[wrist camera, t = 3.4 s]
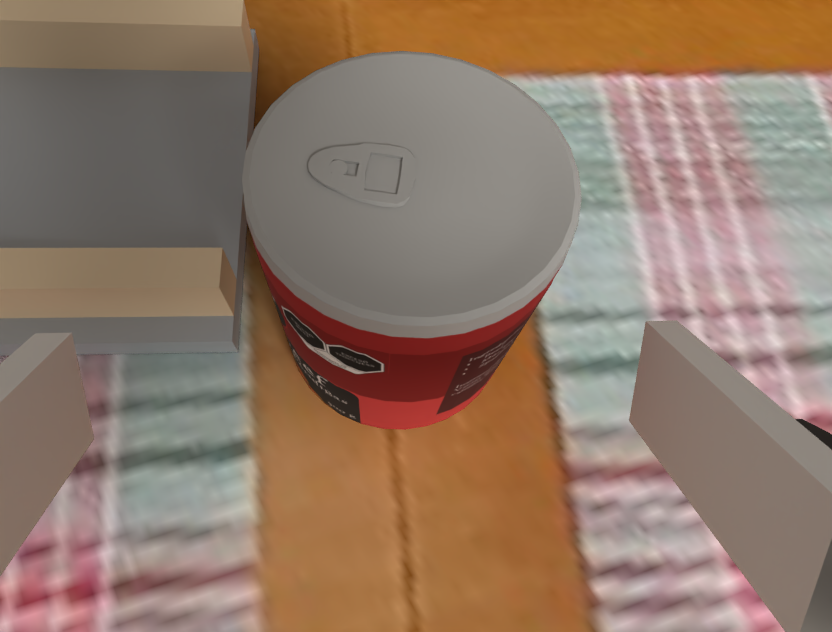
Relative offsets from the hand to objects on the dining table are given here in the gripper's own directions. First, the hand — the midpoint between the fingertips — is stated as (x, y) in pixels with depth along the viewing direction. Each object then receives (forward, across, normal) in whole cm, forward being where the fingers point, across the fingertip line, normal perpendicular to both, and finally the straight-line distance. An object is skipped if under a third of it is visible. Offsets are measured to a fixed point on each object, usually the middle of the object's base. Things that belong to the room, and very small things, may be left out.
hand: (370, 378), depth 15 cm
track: (+14, -14, +2) cm, 20 cm away
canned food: (+10, +1, -3) cm, 10 cm away
